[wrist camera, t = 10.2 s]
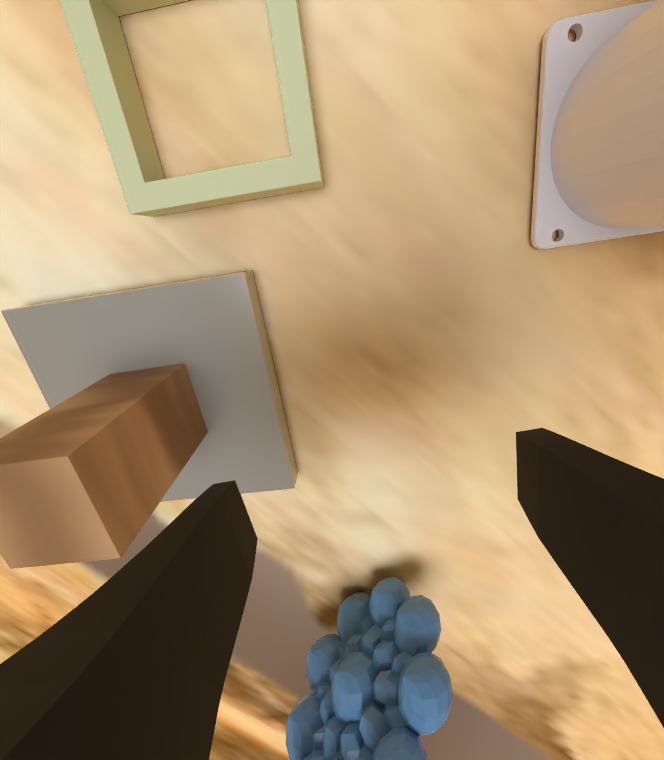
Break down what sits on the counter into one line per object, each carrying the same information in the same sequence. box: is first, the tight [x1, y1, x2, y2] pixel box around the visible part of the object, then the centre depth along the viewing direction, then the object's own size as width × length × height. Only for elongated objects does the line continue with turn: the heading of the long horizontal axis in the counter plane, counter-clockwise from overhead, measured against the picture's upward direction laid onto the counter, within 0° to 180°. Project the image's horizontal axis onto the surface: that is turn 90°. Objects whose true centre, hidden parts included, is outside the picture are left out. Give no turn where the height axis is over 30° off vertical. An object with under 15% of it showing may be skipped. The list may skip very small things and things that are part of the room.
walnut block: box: [0, 363, 208, 569], centre depth 15 cm, size 4×4×8 cm
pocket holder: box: [60, 0, 324, 217], centre depth 14 cm, size 8×8×2 cm
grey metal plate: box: [1, 270, 298, 502], centre depth 19 cm, size 12×12×2 cm
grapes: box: [286, 577, 453, 760], centre depth 20 cm, size 12×7×12 cm, turn 133°
